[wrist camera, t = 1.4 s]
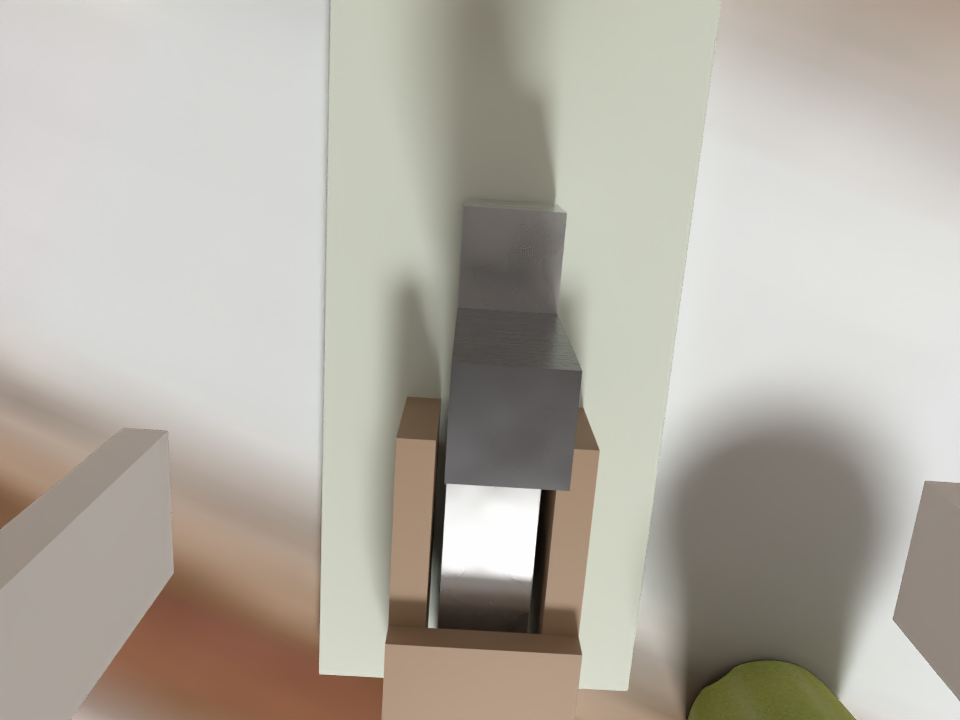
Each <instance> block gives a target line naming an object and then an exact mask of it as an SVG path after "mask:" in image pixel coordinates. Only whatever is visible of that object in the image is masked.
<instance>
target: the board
mask: <svg viewBox="0 0 960 720" xmlns="http://www.w3.org/2000/svg"><path fill="white" fill-rule="evenodd" d="M720 7H721V0H331V6H330V65H329V124H328V183H327V242H326V301H325V360H324V420H323V479H322V538H321V597H320V656H319V674H327V675H345V676H363V677H382V678H384V680H383V704H382V720H575V714H576V706H577V697H578V688H581V689H599V690H617V691H628V684H629V677H630V669H631V662H632V655H633V647H634V640H635V632H636V625H637V618H638V610H639V603H640V596H641V588H642V581H643V574H644V566H645V559H646V551H647V544H648V537H649V529H650V522H651V515H652V507H653V500H654V493H655V485H656V478H657V471H658V463H659V456H660V448H661V441H662V434H663V426H664V419H665V412H666V404H667V397H668V390H669V382H670V375H671V367H672V360H673V353H674V345H675V338H676V331H677V323H678V316H679V309H680V301H681V294H682V286H683V279H684V272H685V264H686V257H687V250H688V242H689V235H690V228H691V220H692V213H693V205H694V198H695V191H696V183H697V176H698V169H699V161H700V154H701V147H702V139H703V132H704V124H705V117H706V110H707V102H708V95H709V88H710V80H711V73H712V66H713V58H714V51H715V43H716V36H717V29H718V21H719V14H720ZM465 198H478V199H493V200H508V201H522V202H537V203H552V204H558V205H559V206H560V207H561V208H562V209H563V210H564V211H566V212H567V220H566V230H565V241H564V251H563V262H562V272H561V283H560V293H559V304H558V316H559V319H560V321H561V323H562V325H563V328H564V330H565V332H566V335H567V337H568V339H569V341H570V344H571V346H572V348H573V351H574V353H575V355H576V357H577V360H578V362H579V364H580V367H581V369H582V380H581V389H580V398H579V408H578V417H577V427H576V436H575V446H574V455H573V465H572V474H571V484H570V491H559V490H542V489H541V493H540V504H539V514H538V525H537V535H536V546H535V556H534V567H533V578H532V588H531V599H530V609H529V620H528V630H527V633H511V632H494V631H476V630H458V629H441V628H438V617H439V601H440V584H441V568H442V552H443V535H444V519H445V503H446V486H447V484H444V479H445V463H446V446H447V429H448V413H449V396H450V380H451V363H452V354H453V344H454V335H455V326H456V316H457V307H458V290H459V274H460V258H461V241H462V225H463V209H464V201H465Z"/></svg>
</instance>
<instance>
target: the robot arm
mask: <svg viewBox="0 0 960 720" xmlns="http://www.w3.org/2000/svg"><path fill="white" fill-rule="evenodd" d="M173 573H174V570H173V544H172V518H171V492H170V466H169V441H168V431H165V430H150V429H134V428H123V429H121V430H120V431H119V432H118V433H117V434H115V435H114V436H113V437H112V438H111V439H109V440H108V441H107V442H106V443H104V444H103V445H102V446H101V447H100V448H98V449H97V450H96V451H95V452H94V453H92V454H91V455H90V456H89V457H88V458H86V459H85V460H84V461H83V462H81V463H80V464H79V465H78V466H77V467H75V468H74V469H73V470H72V471H71V472H69V473H68V474H67V475H66V476H65V477H63V478H62V479H61V480H60V481H58V482H57V483H56V484H55V485H54V486H52V487H51V488H50V489H49V490H48V491H46V492H45V493H44V494H43V495H41V496H40V497H39V498H38V499H37V500H35V501H34V502H33V503H32V504H31V505H29V506H28V507H27V508H26V509H25V510H23V511H22V512H21V513H20V514H18V515H17V516H16V517H15V518H14V519H12V520H11V521H10V522H9V523H8V524H6V525H5V526H4V527H3V528H2V529H0V720H71V718H72V717H73V715H74V714H75V713H76V711H77V710H78V708H79V707H80V705H81V704H82V703H83V701H84V700H85V698H86V697H87V696H88V694H89V693H90V691H91V690H92V688H93V687H94V686H95V684H96V683H97V681H98V680H99V678H100V677H101V676H102V674H103V673H104V671H105V670H106V669H107V667H108V666H109V664H110V663H111V661H112V660H113V659H114V657H115V656H116V654H117V653H118V651H119V650H120V649H121V647H122V646H123V644H124V643H125V642H126V640H127V639H128V637H129V636H130V634H131V633H132V632H133V630H134V629H135V627H136V626H137V624H138V623H139V622H140V620H141V619H142V617H143V616H144V615H145V613H146V612H147V610H148V609H149V607H150V606H151V605H152V603H153V602H154V600H155V599H156V598H157V596H158V595H159V593H160V592H161V590H162V589H163V588H164V586H165V585H166V583H167V582H168V580H169V579H170V578H171V576H172V575H173ZM893 621H894V622H895V623H896V624H897V625H898V627H899V628H900V629H901V630H902V632H903V633H904V634H905V635H906V636H907V638H908V639H909V640H910V641H911V642H912V644H913V645H914V646H915V647H916V649H917V650H918V651H919V652H920V653H921V655H922V656H923V657H924V658H925V660H926V661H927V662H928V663H929V664H930V666H931V667H932V668H933V669H934V670H935V672H936V673H937V674H938V675H939V677H940V678H941V679H942V680H943V681H944V683H945V684H946V685H947V686H948V687H949V689H950V690H951V691H952V692H953V694H954V695H955V696H956V697H957V698H958V700H959V701H960V483H950V482H935V481H925V483H924V487H923V492H922V496H921V500H920V504H919V509H918V513H917V517H916V522H915V526H914V530H913V534H912V539H911V543H910V547H909V552H908V556H907V560H906V564H905V569H904V573H903V577H902V582H901V586H900V590H899V594H898V599H897V603H896V607H895V611H894V616H893Z"/></svg>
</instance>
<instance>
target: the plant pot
mask: <svg viewBox="0 0 960 720" xmlns="http://www.w3.org/2000/svg"><path fill="white" fill-rule="evenodd" d="M688 720H856V719H855V718H854V717H853V716H852V714H851V713H850V712H849V711H848V710H847V709H846V708H845V707H844V705H843V704H842V703H841V702H840V701H839V700H838V699H837V698H836V696H835V695H834V694H833V693H832V692H831V691H830V690H829V689H828V688H827V687H826V686H825V685H824V684H823V683H822V682H821V681H820V680H819V679H818V678H817V677H816V676H814V675H813V674H812V673H811V672H809V671H808V670H806V669H804V668H802V667H800V666H797V665H794V664H791V663H787V662H783V661H773V660H765V661H755V662H749V663H745V664H741V665H738V666H736V667H734V668H733V669H732V670H731V671H730V672H729V673H728V674H727V675H726V676H724V677H723V678H721V679H720V680H719V681H717V682H715V683H713V684H712V685H710V686H707V687H705V688H704V689H703V690H702V691H701V692H700V693H699V695H698V696H697V698H696V699H695V701H694V703H693V705H692V708H691V710H690V713H689V717H688Z"/></svg>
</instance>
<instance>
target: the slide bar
mask: <svg viewBox="0 0 960 720" xmlns="http://www.w3.org/2000/svg"><path fill="white" fill-rule="evenodd" d="M566 220H567V212H566V211H564V210H563V209H562V208H561V207H560V206H559V205H558V204H552V203H537V202H522V201H508V200H493V199H478V198H465V201H464V209H463V225H462V241H461V258H460V274H459V290H458V307H457V316H456V326H455V335H454V344H453V354H452V363H451V380H450V396H449V413H448V429H447V446H446V463H445V479H444V484H447V486H446V503H445V519H444V535H443V552H442V568H441V584H440V601H439V617H438V628H441V629H458V630H476V631H494V632H511V633H527V630H528V620H529V609H530V599H531V588H532V578H533V567H534V556H535V546H536V535H537V525H538V514H539V504H540V493H541V489H542V490H559V491H570V484H571V474H572V465H573V455H574V446H575V436H576V427H577V417H578V408H579V398H580V389H581V380H582V369H581V367H580V364H579V362H578V360H577V357H576V355H575V353H574V351H573V348H572V346H571V344H570V341H569V339H568V337H567V335H566V332H565V330H564V328H563V325H562V323H561V321H560V319H559V316H558V304H559V293H560V283H561V272H562V262H563V251H564V241H565V230H566Z"/></svg>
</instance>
